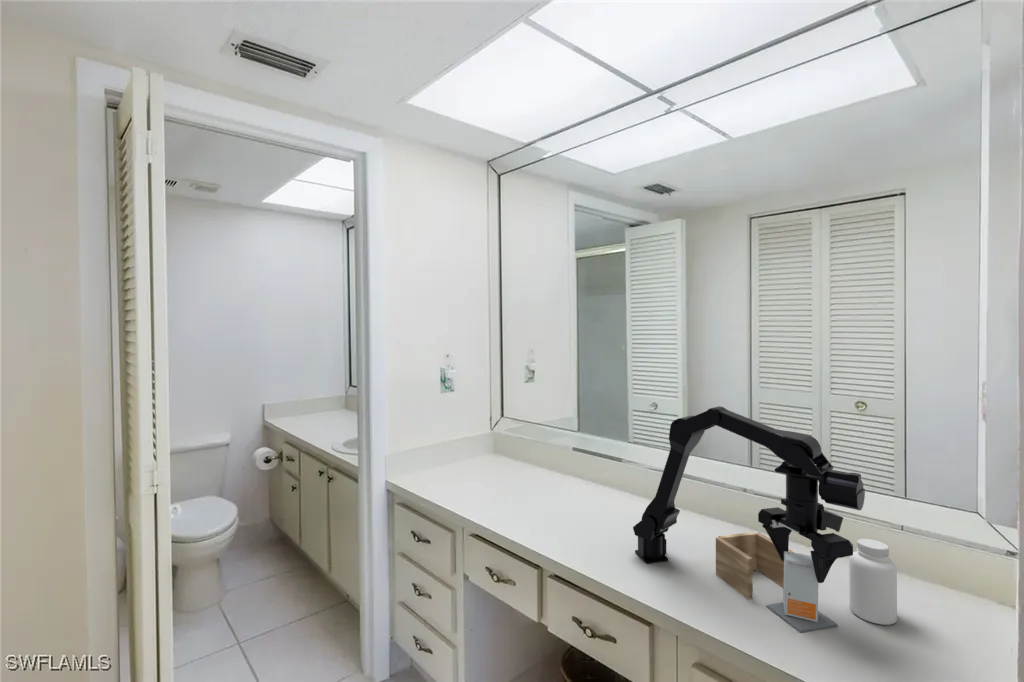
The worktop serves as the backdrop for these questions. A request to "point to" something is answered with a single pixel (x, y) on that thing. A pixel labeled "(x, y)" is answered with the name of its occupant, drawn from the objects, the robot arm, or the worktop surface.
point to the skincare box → (800, 587)
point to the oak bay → (747, 560)
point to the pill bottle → (873, 583)
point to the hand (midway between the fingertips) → (801, 571)
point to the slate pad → (799, 623)
